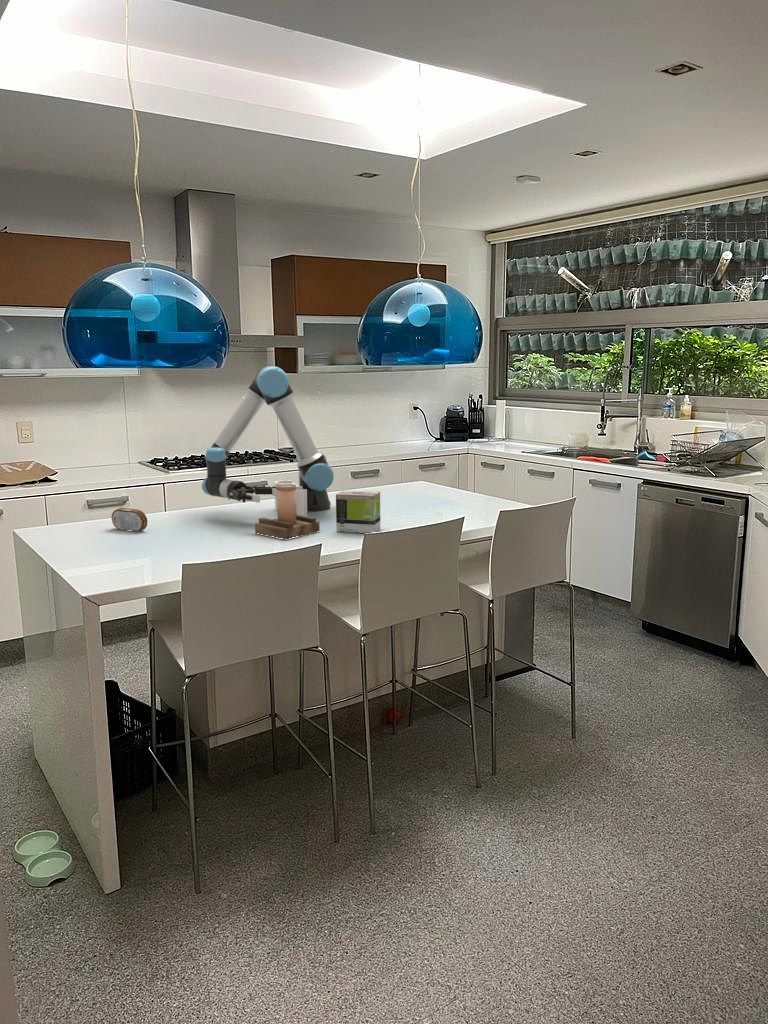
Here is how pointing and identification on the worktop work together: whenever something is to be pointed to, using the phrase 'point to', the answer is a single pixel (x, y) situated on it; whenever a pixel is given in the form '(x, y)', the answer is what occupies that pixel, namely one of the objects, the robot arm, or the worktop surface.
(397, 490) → the worktop surface
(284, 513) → the terracotta canister
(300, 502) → the bracket
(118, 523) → the tin
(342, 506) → the tea box
